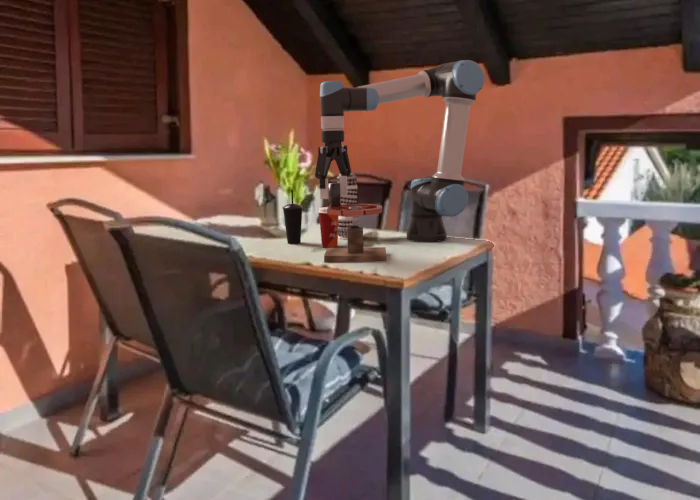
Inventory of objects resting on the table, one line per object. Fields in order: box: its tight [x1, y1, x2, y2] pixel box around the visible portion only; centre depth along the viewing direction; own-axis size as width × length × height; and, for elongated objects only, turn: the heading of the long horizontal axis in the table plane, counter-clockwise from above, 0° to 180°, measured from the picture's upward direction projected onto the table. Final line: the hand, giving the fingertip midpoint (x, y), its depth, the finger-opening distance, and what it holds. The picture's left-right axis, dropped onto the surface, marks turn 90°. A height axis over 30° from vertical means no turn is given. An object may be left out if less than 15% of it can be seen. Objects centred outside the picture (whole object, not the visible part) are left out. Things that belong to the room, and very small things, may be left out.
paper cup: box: [318, 206, 339, 249], centre depth 242 cm, size 8×8×14 cm
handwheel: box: [327, 182, 383, 228], centre depth 219 cm, size 18×18×15 cm
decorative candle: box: [336, 172, 360, 241], centre depth 259 cm, size 9×9×25 cm
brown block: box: [323, 225, 387, 263], centre depth 222 cm, size 20×14×10 cm
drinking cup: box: [281, 189, 304, 245], centre depth 250 cm, size 8×8×20 cm
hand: (334, 197), depth 223 cm, fingers open, 11 cm apart
